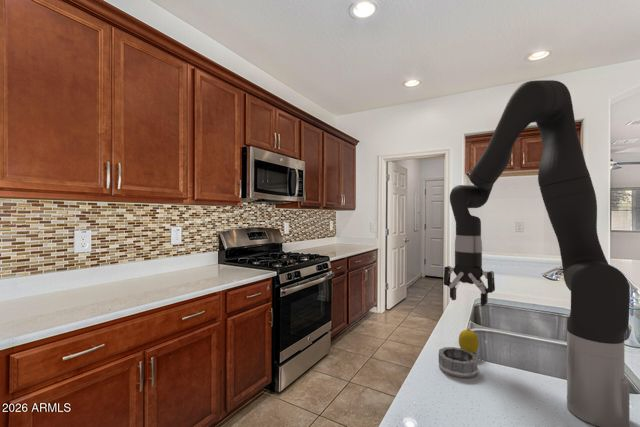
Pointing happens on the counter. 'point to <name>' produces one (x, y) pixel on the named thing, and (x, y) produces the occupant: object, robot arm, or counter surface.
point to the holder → (458, 362)
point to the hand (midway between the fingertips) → (468, 302)
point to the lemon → (468, 340)
